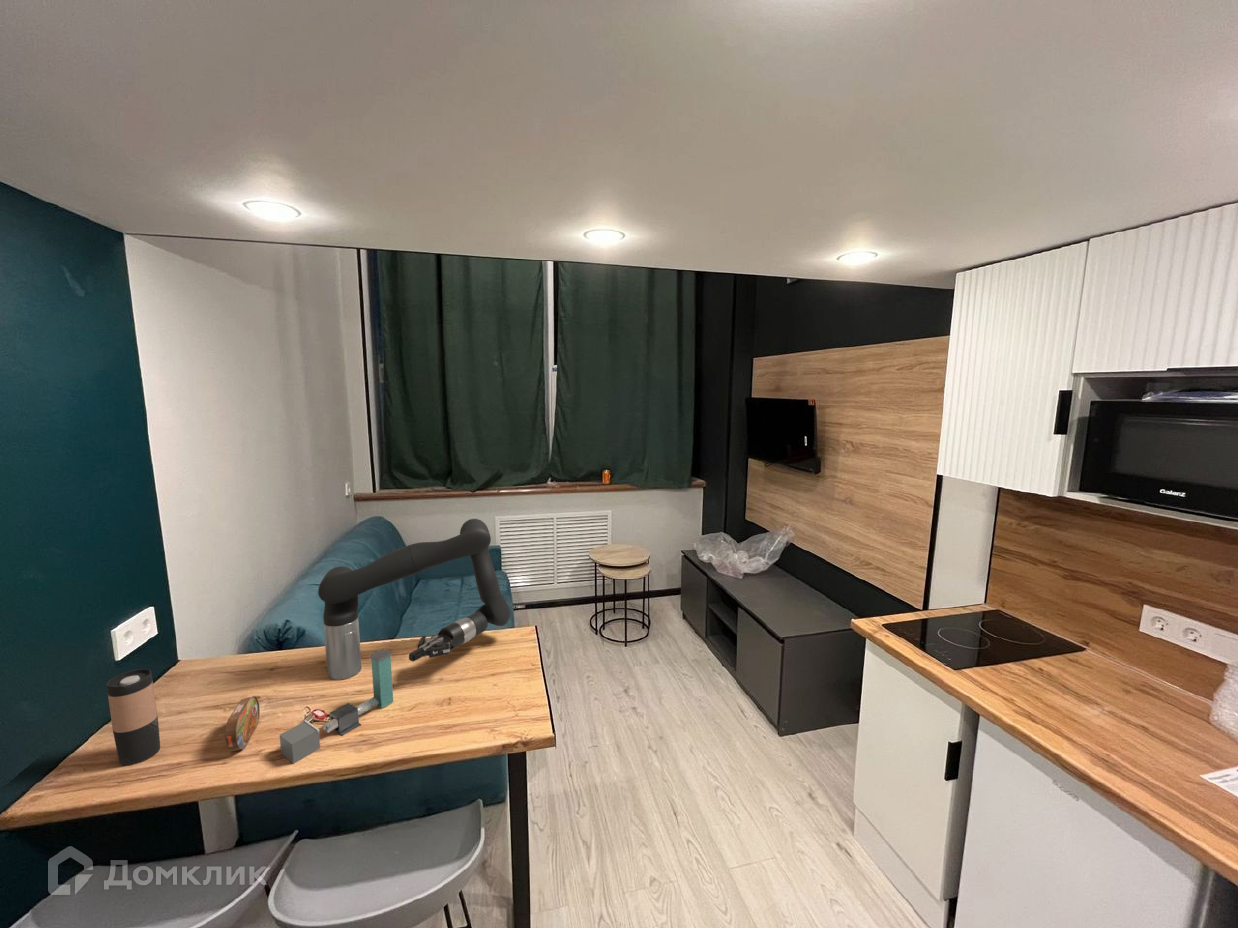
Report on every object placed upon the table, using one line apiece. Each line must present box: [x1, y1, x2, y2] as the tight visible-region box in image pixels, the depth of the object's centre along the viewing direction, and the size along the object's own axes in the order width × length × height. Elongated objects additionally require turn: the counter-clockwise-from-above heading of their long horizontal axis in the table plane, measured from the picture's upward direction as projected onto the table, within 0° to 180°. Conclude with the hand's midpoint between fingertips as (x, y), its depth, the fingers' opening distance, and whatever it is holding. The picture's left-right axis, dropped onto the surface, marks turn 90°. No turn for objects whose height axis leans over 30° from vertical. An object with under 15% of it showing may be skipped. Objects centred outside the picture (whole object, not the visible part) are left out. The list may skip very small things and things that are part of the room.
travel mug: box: [106, 668, 161, 766], centre depth 116 cm, size 8×8×20 cm
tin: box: [224, 695, 261, 752], centre depth 123 cm, size 15×3×8 cm, turn 20°
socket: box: [279, 719, 321, 764], centre depth 119 cm, size 6×6×5 cm
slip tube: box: [322, 648, 394, 734], centre depth 131 cm, size 4×18×15 cm, turn 148°
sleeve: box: [329, 702, 362, 737], centre depth 128 cm, size 6×5×4 cm
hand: (410, 657), depth 144 cm, fingers closed
